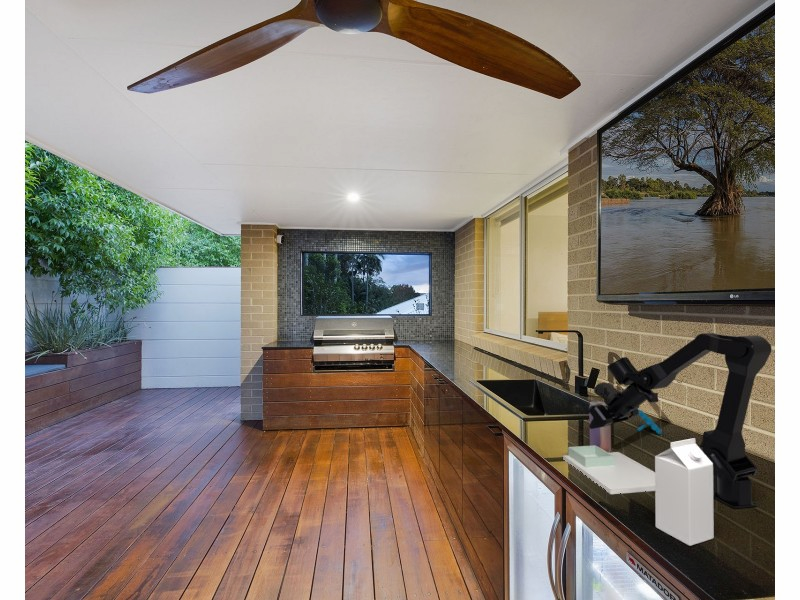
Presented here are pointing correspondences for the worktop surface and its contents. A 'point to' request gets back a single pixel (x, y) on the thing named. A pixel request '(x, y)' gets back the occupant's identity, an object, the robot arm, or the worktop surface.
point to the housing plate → (611, 470)
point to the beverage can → (600, 432)
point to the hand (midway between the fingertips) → (596, 425)
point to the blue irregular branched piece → (648, 423)
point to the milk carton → (684, 493)
